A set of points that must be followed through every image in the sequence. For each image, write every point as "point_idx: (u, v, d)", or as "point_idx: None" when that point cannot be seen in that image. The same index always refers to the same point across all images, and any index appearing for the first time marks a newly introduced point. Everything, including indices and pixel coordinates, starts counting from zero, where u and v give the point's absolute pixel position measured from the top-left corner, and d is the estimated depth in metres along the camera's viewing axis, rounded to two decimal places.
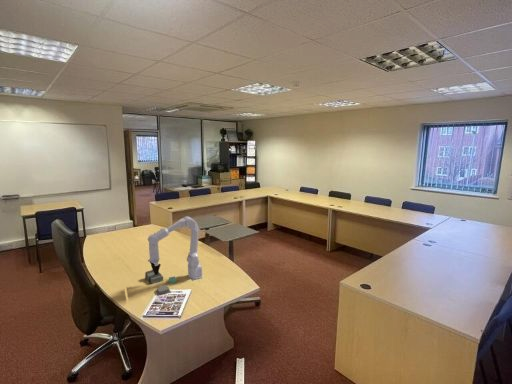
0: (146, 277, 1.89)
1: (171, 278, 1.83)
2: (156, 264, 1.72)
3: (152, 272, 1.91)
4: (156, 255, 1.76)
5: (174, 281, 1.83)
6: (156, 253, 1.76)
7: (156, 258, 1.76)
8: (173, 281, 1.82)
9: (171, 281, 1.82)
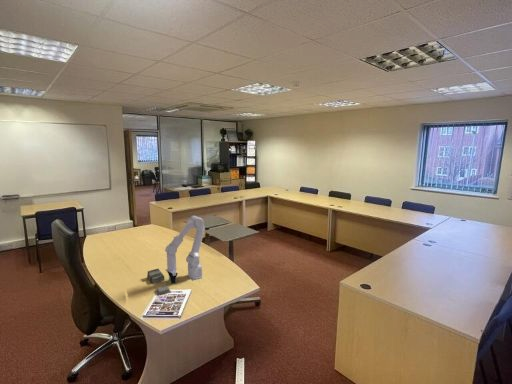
0: (148, 276, 1.90)
1: None
2: (174, 274, 1.77)
3: (154, 271, 1.92)
4: (174, 265, 1.81)
5: None
6: (174, 263, 1.81)
7: (174, 268, 1.81)
8: None
9: None
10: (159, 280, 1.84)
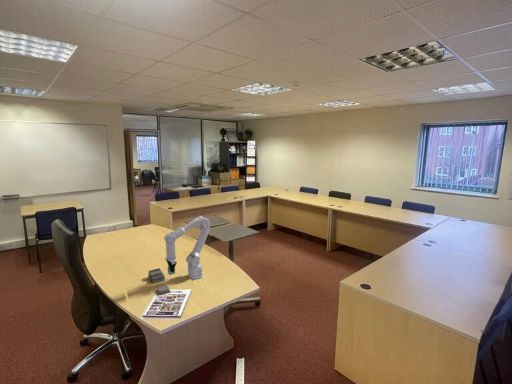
0: (149, 276, 1.91)
1: None
2: (173, 262, 1.75)
3: (155, 271, 1.92)
4: (173, 254, 1.79)
5: None
6: (173, 252, 1.79)
7: (173, 257, 1.79)
8: None
9: None
10: (159, 280, 1.84)
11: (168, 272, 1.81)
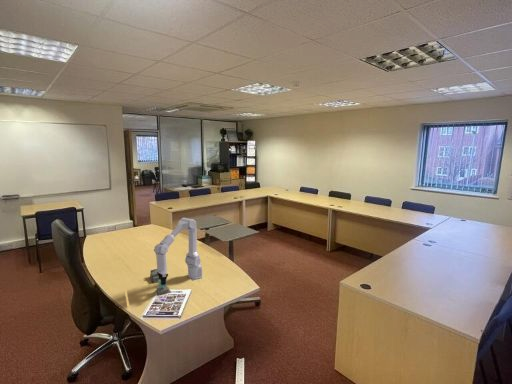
0: (150, 275, 1.92)
1: None
2: (164, 275, 1.63)
3: None
4: (164, 265, 1.67)
5: None
6: (164, 263, 1.67)
7: (164, 268, 1.68)
8: None
9: None
10: None
11: (159, 285, 1.70)
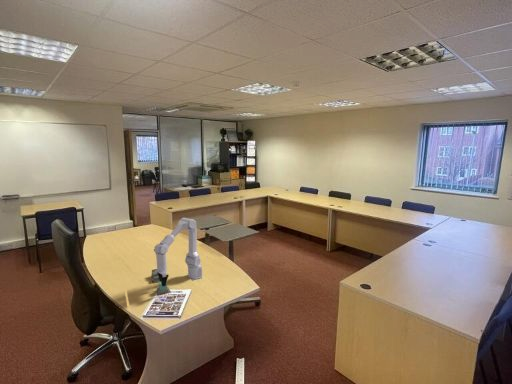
0: (151, 275, 1.92)
1: None
2: (164, 275, 1.63)
3: None
4: (164, 265, 1.67)
5: (164, 286, 1.70)
6: (164, 263, 1.67)
7: (164, 268, 1.68)
8: (163, 286, 1.69)
9: (161, 286, 1.69)
10: None
11: (159, 287, 1.70)
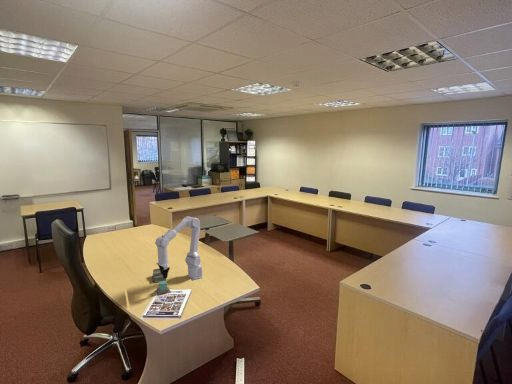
0: None
1: (161, 282, 1.70)
2: (165, 267, 1.66)
3: (159, 270, 1.94)
4: (165, 258, 1.70)
5: (165, 286, 1.70)
6: (165, 256, 1.69)
7: (165, 261, 1.70)
8: (163, 286, 1.69)
9: (161, 286, 1.68)
10: (160, 280, 1.85)
11: (159, 287, 1.70)
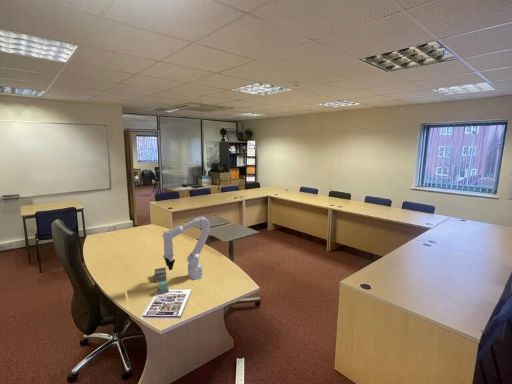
0: (154, 274, 1.93)
1: (161, 282, 1.70)
2: (171, 259, 1.78)
3: (160, 270, 1.94)
4: (170, 251, 1.81)
5: (164, 286, 1.70)
6: (170, 249, 1.81)
7: (170, 254, 1.82)
8: (163, 286, 1.69)
9: (161, 286, 1.69)
10: (161, 279, 1.85)
11: (159, 287, 1.70)
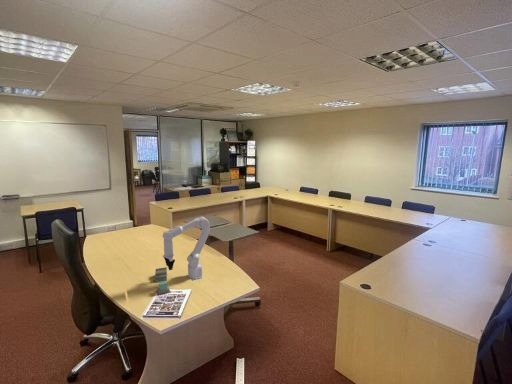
0: None
1: (161, 282, 1.70)
2: (171, 259, 1.78)
3: (160, 270, 1.94)
4: (170, 251, 1.81)
5: (164, 286, 1.69)
6: (170, 249, 1.81)
7: (170, 254, 1.82)
8: (163, 286, 1.69)
9: (161, 286, 1.68)
10: (161, 279, 1.85)
11: (159, 287, 1.70)
